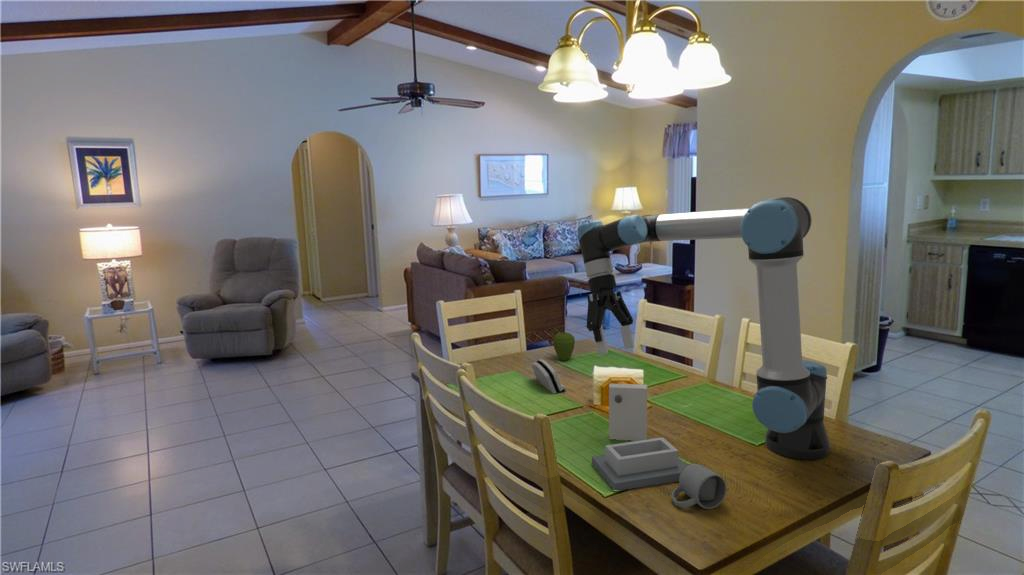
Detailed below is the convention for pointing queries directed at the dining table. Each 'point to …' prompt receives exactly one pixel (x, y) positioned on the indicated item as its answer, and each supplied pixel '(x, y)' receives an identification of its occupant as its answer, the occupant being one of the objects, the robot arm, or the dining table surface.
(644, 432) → the cabinet door
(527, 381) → the dining table surface
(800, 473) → the dining table surface
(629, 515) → the dining table surface
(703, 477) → the ceramic mug
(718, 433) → the dining table surface
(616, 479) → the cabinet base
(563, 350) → the green vase
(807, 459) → the robot arm
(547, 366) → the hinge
